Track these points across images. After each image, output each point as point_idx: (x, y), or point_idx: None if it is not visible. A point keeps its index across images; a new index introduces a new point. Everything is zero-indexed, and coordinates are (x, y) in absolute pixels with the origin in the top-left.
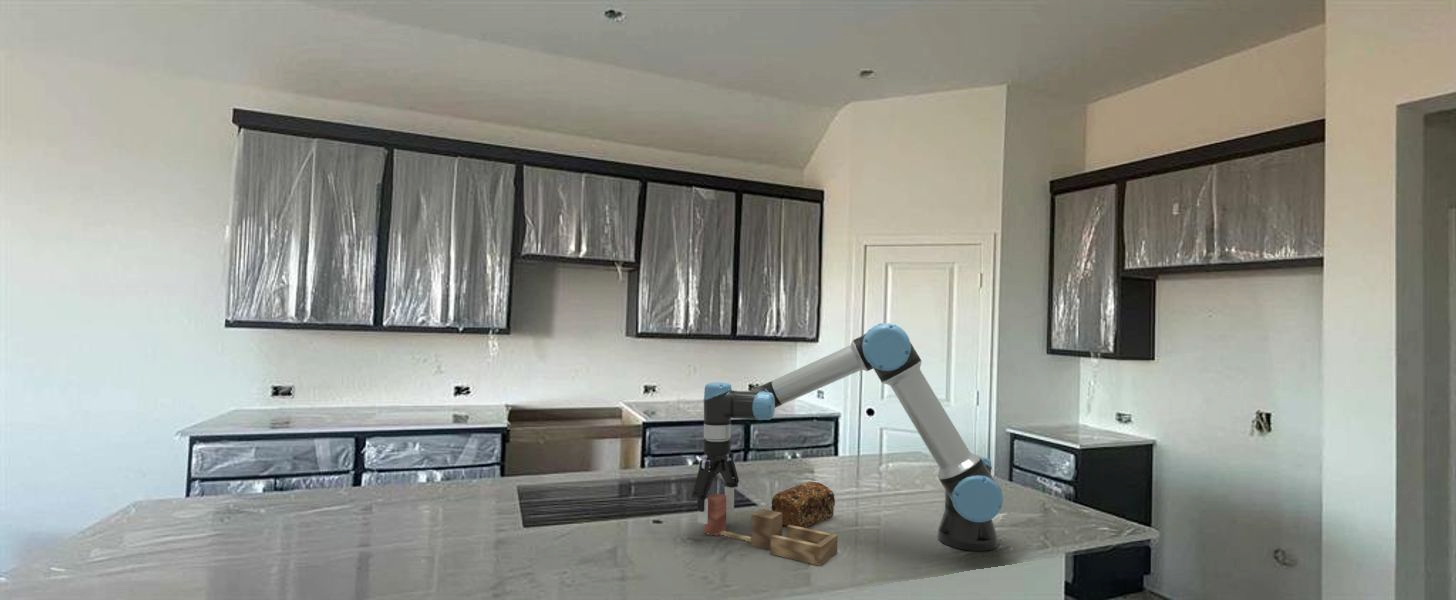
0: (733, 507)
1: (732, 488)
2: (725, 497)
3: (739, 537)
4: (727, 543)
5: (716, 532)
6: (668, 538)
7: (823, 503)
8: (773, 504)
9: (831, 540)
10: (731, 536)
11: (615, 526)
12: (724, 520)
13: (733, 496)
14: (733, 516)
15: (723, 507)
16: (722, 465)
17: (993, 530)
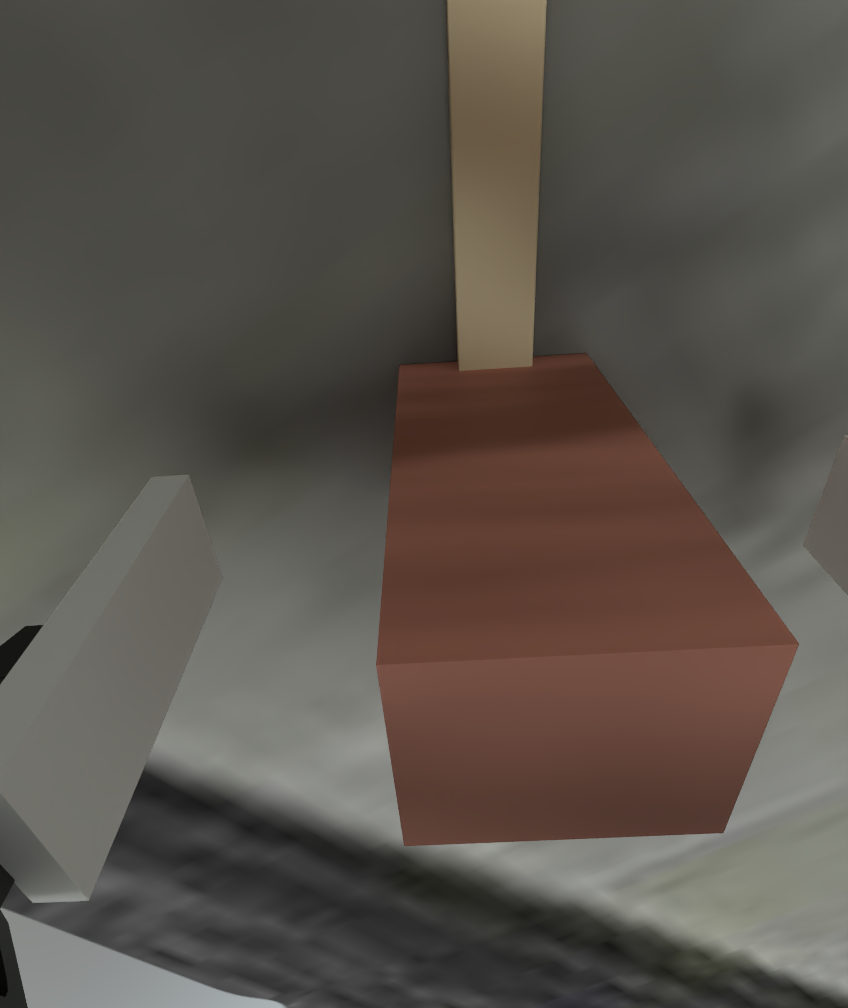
0: (144, 502)
1: (3, 780)
2: (419, 631)
3: (541, 43)
4: (741, 100)
5: (597, 368)
6: (810, 616)
7: None
8: None
9: None
10: (534, 190)
11: (720, 875)
12: (431, 416)
13: (65, 622)
14: (3, 550)
15: (480, 512)
16: None
17: None
